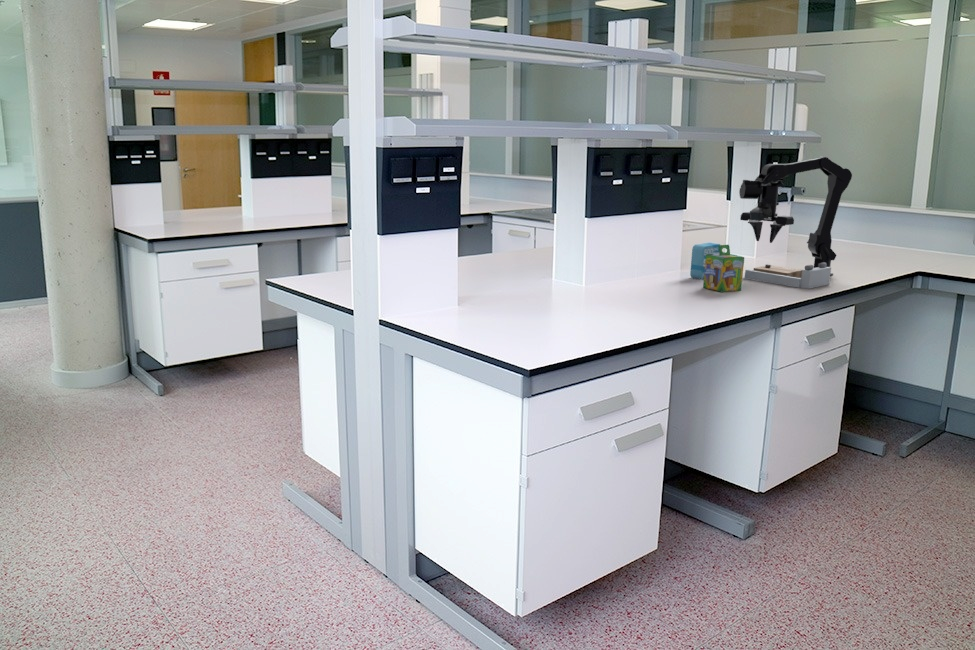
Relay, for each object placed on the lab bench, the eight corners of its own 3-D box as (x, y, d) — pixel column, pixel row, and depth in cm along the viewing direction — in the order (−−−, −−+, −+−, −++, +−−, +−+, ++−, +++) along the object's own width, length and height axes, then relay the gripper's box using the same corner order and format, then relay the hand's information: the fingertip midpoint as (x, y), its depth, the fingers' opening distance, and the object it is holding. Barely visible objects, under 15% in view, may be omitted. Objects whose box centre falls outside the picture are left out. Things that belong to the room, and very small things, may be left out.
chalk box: (721, 292, 259) (725, 247, 256) (702, 287, 267) (705, 244, 264) (742, 290, 264) (746, 246, 260) (722, 285, 271) (726, 242, 268)
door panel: (768, 275, 295) (769, 262, 294) (801, 281, 286) (802, 267, 284) (752, 278, 288) (753, 265, 287) (786, 284, 278) (787, 270, 277)
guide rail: (747, 277, 288) (747, 269, 287) (801, 287, 272) (802, 278, 271) (744, 278, 287) (745, 269, 286) (798, 287, 271) (799, 278, 270)
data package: (700, 280, 281) (703, 246, 278) (689, 278, 284) (692, 244, 282) (718, 276, 289) (721, 243, 286) (708, 274, 292) (711, 242, 289)
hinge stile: (820, 282, 280) (823, 261, 278) (829, 284, 278) (831, 262, 276) (800, 287, 272) (802, 265, 270) (808, 288, 269) (811, 266, 268)
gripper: (733, 198, 291) (729, 240, 295) (780, 202, 277) (775, 246, 281) (750, 197, 298) (746, 238, 302) (797, 201, 284) (792, 244, 288)
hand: (764, 241), depth 293 cm, fingers open, 5 cm apart
